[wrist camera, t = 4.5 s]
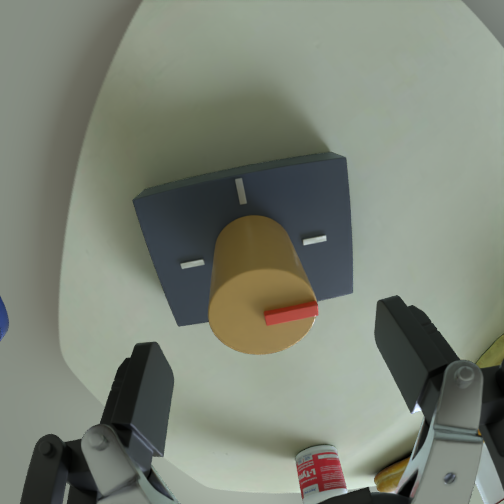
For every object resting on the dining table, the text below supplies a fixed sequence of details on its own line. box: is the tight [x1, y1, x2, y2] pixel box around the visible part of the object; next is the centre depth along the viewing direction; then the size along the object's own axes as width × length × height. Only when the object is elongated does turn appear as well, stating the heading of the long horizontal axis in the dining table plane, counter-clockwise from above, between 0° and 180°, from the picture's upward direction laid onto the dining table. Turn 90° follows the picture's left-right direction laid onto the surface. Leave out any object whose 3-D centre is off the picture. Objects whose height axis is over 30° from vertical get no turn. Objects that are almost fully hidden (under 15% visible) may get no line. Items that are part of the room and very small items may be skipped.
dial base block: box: [133, 152, 353, 326], centre depth 18 cm, size 12×9×3 cm
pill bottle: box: [296, 445, 347, 504], centre depth 29 cm, size 6×6×11 cm
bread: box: [374, 429, 484, 493], centre depth 38 cm, size 13×26×8 cm, turn 137°
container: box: [475, 442, 504, 504], centre depth 41 cm, size 17×17×25 cm
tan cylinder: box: [208, 215, 318, 355], centre depth 14 cm, size 4×4×6 cm
